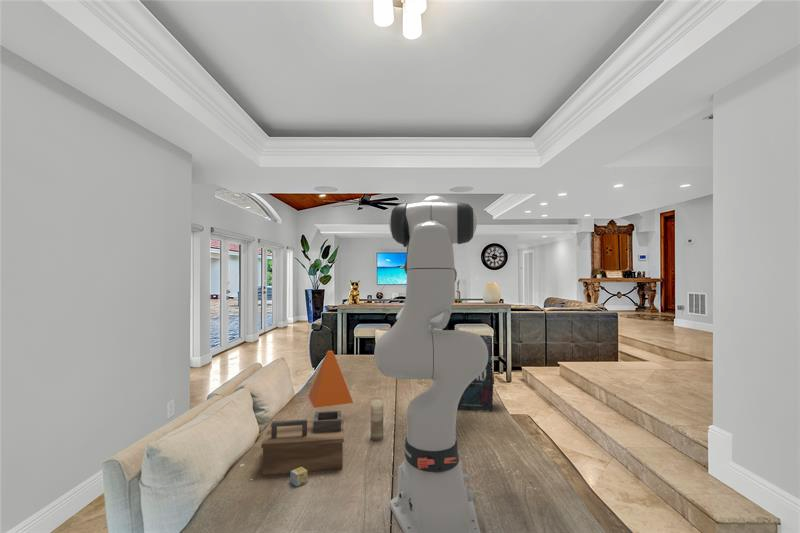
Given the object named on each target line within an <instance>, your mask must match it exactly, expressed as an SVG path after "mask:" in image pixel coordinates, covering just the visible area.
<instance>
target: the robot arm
mask: <svg viewBox="0 0 800 533" xmlns="http://www.w3.org/2000/svg"><path fill="white" fill-rule="evenodd" d="M388 225H389V230H390V234H391V235H392V236H391V237H392V239H393V240H394V241H395V242H397V243H398V244H401V245H403V247H404V248H406V257H405V258H406V259H405V263H404V266H403V270H404V272H405V274H406V289H405V300H404V306H402V308H400V310H399V311H398V313H397V314H396V316H395V319H396V322H395V323H394V324H393V325H392V326H391V327H390V329H388V330H387V331H386V332H383V334H382V335H380V337H379V339H378V340H377V342H376V345H375V347H374V352H373V355H374V356H373V357H374V358H373V359H374V363H375V365H376V368H377V369H378V371H379V372H380V373H381V375H382V376H384V377H389V378H391V379H393V378H394V379H398V380H432V381H433V382H432V384H431V385H430V387H429V388H428V389H427V390H425V391H423V392H421V393H419V394H417V395H416V396H414V397H413V398H412V399H411V400H410V401H409V403H408V405H407V409H406V437H405V440H404V456H405V457H404V459H403V461H402V463H401V464H400V465H399V466H398V467H397V468H398V469H397V470H398V471H397V491H396V493H397V495H396V496H395V497H393V498H392V499H391V500H390V501H389V509H390V510H391V512H392V513H393V514H392V515H393V516H394V518H395V519H396V521H397V523H398V525H399V526H400V528H401V531H402V532H403V533H481V529H480V525H479V522H478V521H479V520H478V517H477V513H476V510H475V506H474V502H475V492H474V488H473V489H472V488H467V486H466V483H465V482H467V481H468V474H467V473H464V472H463V469H462V468H463V467H462V466H463V465H462V461H461V460H460V457H459V454H460V451H459V446H458V445H459V444H458V440H457V437H456V435H457V433H456V431H457V415H458V414H457V413H458V409H457V408H458V404H459V401H460V398H461V396H462V394H463V392H464V391H465V389H466V388H467V387H468V385H469V384H470V383H471V382H472V381H473V380H474V379H476V378H477V377H478V376H480V375H481V374H482V373H483V371H484V370H485V368H486V366H487V363H488V349H487V346H486V344H485V342H484V340H483V339H482V338H481V337H480V336H479V335H480V334H478V333H475V332H471V331H464V330H461V329H450V330H449V329H446V330H445V328H446V327H447V326H448V323H449V321H450V318H451V315H452V313H453V309H452V306H453V305H454V303H455V300H456V295H455V294H456V288H455V287H456V286H455V285H456V284H455V283H456V281H457V274H458V273H457V270H456V268H455V255H454V248H453V244H457V245H463V244H466V243H469V242H470V241H471V240H472V239H473V238H474V234H475V233H476V230H477V225H478V224H477V216H476V212H475V210H474V208H473V207H472V206H471V205H470V204H469V203H466V202H460V201H457V203H456V202H449V201H448V200H447V199H446V198H444V197H443V196H441V195H429V196H427V197H425V198H424V199H422V200H421V201H420V202H411V203H408V202H405V203H401V204H398V205H395V206H394V208H392V210H391V214H390V216H389V222H388Z"/></svg>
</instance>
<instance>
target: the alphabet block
mask: <svg viewBox="0 0 800 533" xmlns="http://www.w3.org/2000/svg"><path fill="white" fill-rule="evenodd" d="M289 474H290V484H292V485H293V486H295V487H296V488H297V487H300V486H302V485H304V484H306V483H308V471H307V470H306V469H304V468H303V467H300V468H297V469H295V470H292V471H291V472H290V473H289Z"/></svg>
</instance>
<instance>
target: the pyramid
mask: <svg viewBox="0 0 800 533" xmlns="http://www.w3.org/2000/svg"><path fill="white" fill-rule="evenodd" d="M311 386H312V387H311V388H310V390H309V392H308V398H309V400H310V402H311V405H312V406H313V408H314V409H316V408H321V407H322V408H323V407H329V406H330V407H331V406H339V405H345V404H346V405H347V403H348V404H353V403H354V401H353V398H352V396H351V394H350V393H351V392H350V391H349V388H348V386H347V383H346V381H345V379H344V376H343V374H342V370H341V368H340V366H339V363H338V359H337V358H336V355H335V353H334V350H327V351H326V354H325V356H324V357H323V361H322V363H321V365H320V368H319V370H318V372H317V374H316V377H315V380H314V381H313V383H312V385H311Z"/></svg>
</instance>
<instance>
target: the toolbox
mask: <svg viewBox="0 0 800 533" xmlns="http://www.w3.org/2000/svg"><path fill="white" fill-rule="evenodd" d="M313 418H314V419H313V420H310V421H309V420H308V419H291V420H277V421H276V420H273V421H272V422H271V424H270V425H269V427H268V429H267V431H266V434H265V436H264V438H263V440H262V442H261V443H260V444H261V445H260V446H261V447H260V448H261V449H262V475H263V476H264V475H278V474H290V472H291V471H292V470H295V469H297V468H300V467H303V468H304V469H306V470H307V472H313V471H314V472H315V471H316V472H317V471H328V470H340V469H342V470H343V456H344V455H343V452H344V451H343V449H344V447H343V443H344V441H345V436H344V434H345V432H344V431H345V430H344V427H345V426H344V423H345V422H344V421H345V420H344V418H342V411H341V410H327V411H324V410H323V411H315V412H314V417H313Z"/></svg>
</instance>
